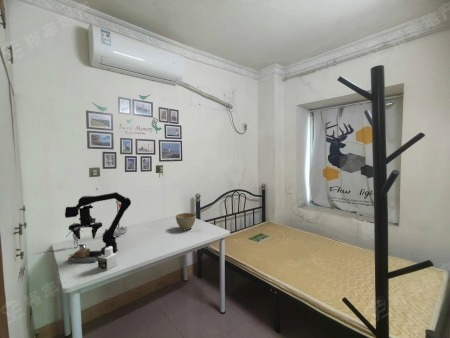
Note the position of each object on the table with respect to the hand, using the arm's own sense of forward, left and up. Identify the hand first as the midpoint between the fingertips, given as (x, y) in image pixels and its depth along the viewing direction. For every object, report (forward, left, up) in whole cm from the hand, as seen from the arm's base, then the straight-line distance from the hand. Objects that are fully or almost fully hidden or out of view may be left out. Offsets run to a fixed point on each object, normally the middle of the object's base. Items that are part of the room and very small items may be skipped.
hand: (86, 239), depth 144 cm
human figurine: (+18, -17, -12) cm, 28 cm away
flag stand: (-2, -42, -12) cm, 44 cm away
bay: (0, 0, -12) cm, 12 cm away
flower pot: (-57, -54, -12) cm, 79 cm away
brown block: (+2, +3, -12) cm, 12 cm away
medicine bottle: (-21, +15, -12) cm, 28 cm away
